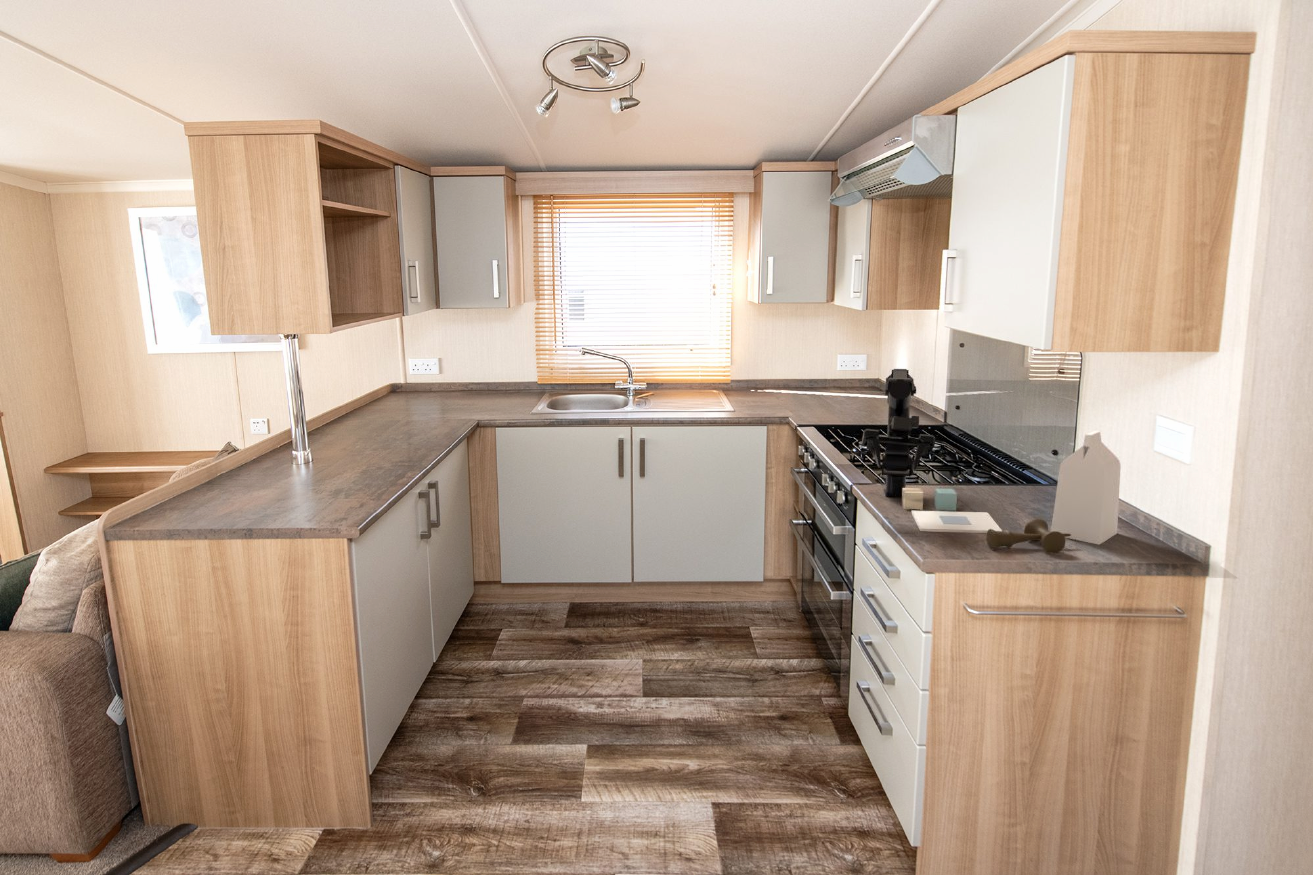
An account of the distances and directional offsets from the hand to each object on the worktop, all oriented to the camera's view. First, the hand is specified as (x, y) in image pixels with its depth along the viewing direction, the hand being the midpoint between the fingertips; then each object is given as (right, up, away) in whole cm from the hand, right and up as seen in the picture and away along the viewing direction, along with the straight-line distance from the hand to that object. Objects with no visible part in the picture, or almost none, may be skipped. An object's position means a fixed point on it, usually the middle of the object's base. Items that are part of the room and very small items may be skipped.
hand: (897, 468), depth 216 cm
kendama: (+25, -19, -22) cm, 38 cm away
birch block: (+8, -12, +13) cm, 19 cm away
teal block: (+17, -12, +11) cm, 23 cm away
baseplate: (+15, -14, -2) cm, 21 cm away
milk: (+43, -16, -13) cm, 48 cm away
